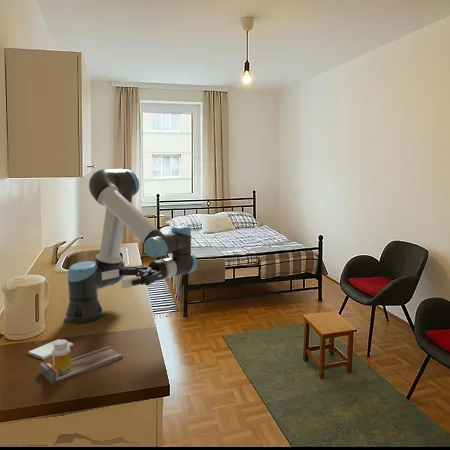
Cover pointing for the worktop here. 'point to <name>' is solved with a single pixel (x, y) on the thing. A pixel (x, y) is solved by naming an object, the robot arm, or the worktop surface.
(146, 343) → the worktop surface
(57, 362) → the supplement bottle
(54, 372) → the latch plate
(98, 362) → the rail board
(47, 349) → the external hard drive
